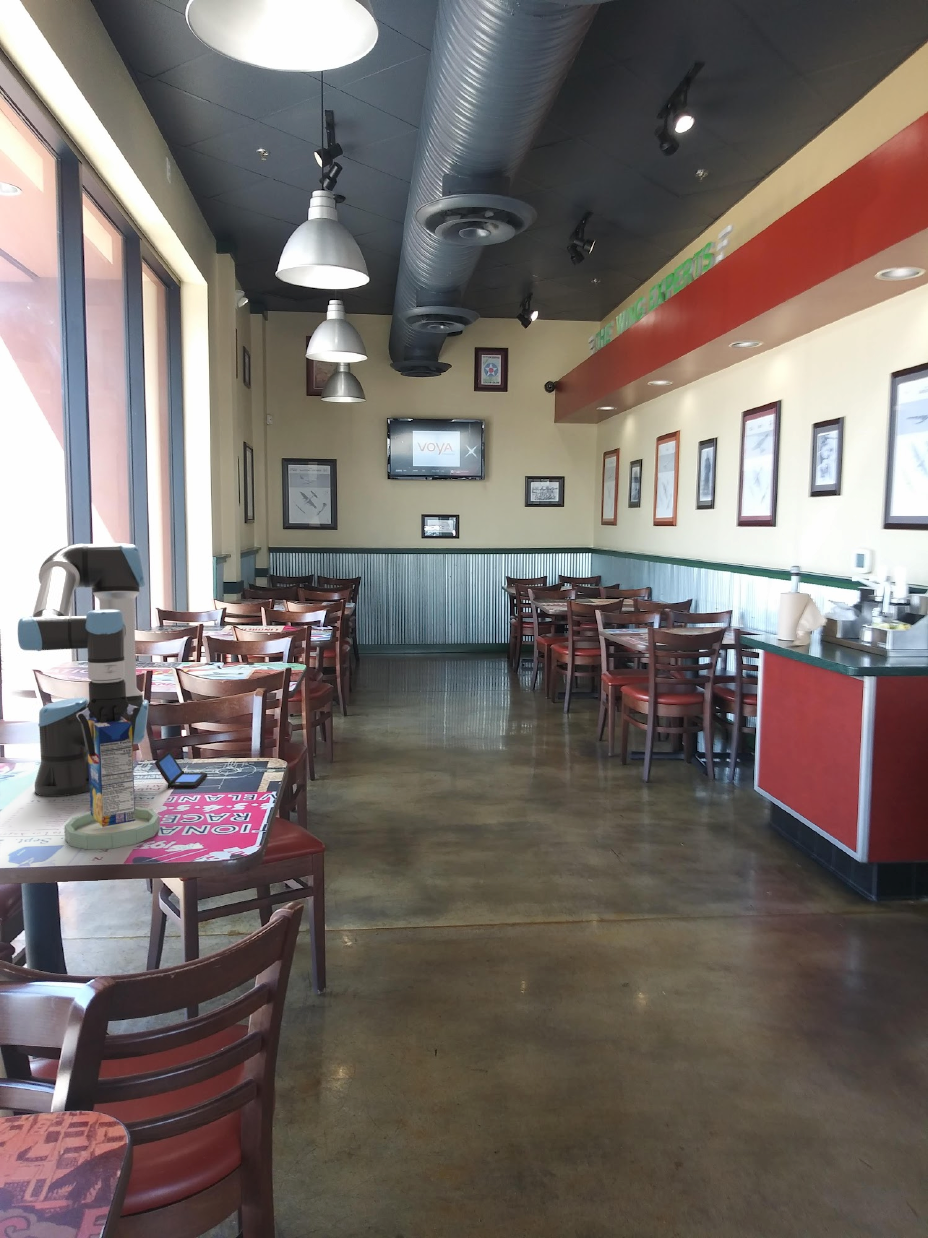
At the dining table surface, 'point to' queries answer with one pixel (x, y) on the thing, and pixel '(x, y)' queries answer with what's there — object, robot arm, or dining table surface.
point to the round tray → (111, 831)
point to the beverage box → (111, 772)
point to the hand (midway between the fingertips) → (111, 784)
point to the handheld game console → (177, 773)
